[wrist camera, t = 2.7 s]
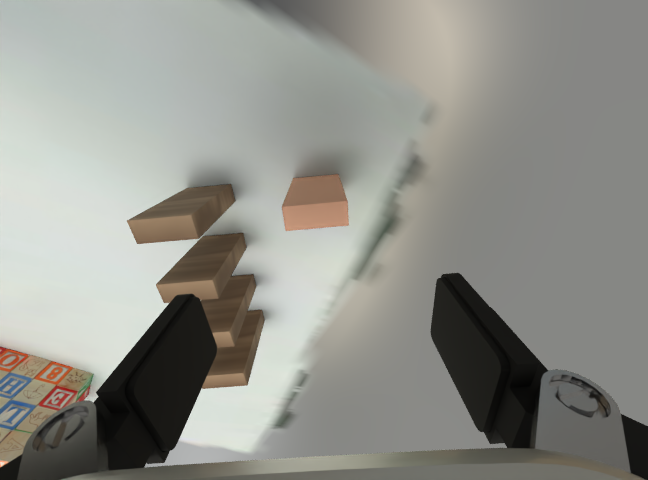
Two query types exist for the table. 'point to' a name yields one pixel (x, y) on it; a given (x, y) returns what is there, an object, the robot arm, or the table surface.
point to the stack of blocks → (33, 396)
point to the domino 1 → (182, 215)
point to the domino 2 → (204, 268)
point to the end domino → (315, 203)
